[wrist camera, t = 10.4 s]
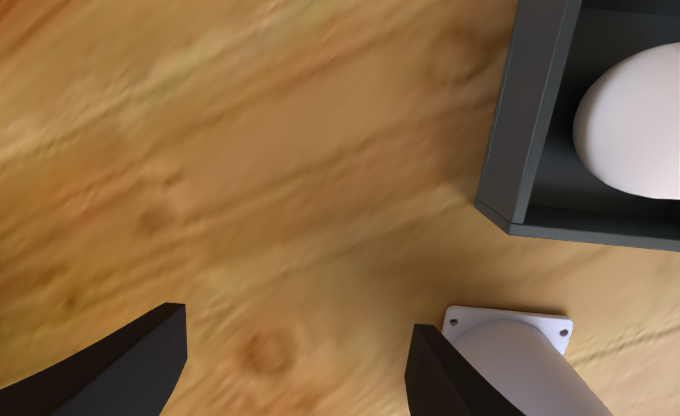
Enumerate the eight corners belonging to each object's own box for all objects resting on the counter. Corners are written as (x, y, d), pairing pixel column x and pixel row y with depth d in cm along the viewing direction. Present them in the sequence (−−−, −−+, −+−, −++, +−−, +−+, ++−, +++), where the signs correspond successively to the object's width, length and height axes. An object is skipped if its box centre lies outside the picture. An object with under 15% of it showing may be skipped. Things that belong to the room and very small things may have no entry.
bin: (662, 226, 21) (745, 258, 16) (473, 207, 20) (507, 235, 16) (744, 14, 17) (874, -15, 13) (520, -10, 17) (579, -47, 13)
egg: (549, 191, 20) (678, 248, 12) (535, 74, 18) (676, 54, 10) (668, 160, 19) (883, 199, 11) (666, 37, 17) (917, -14, 10)
